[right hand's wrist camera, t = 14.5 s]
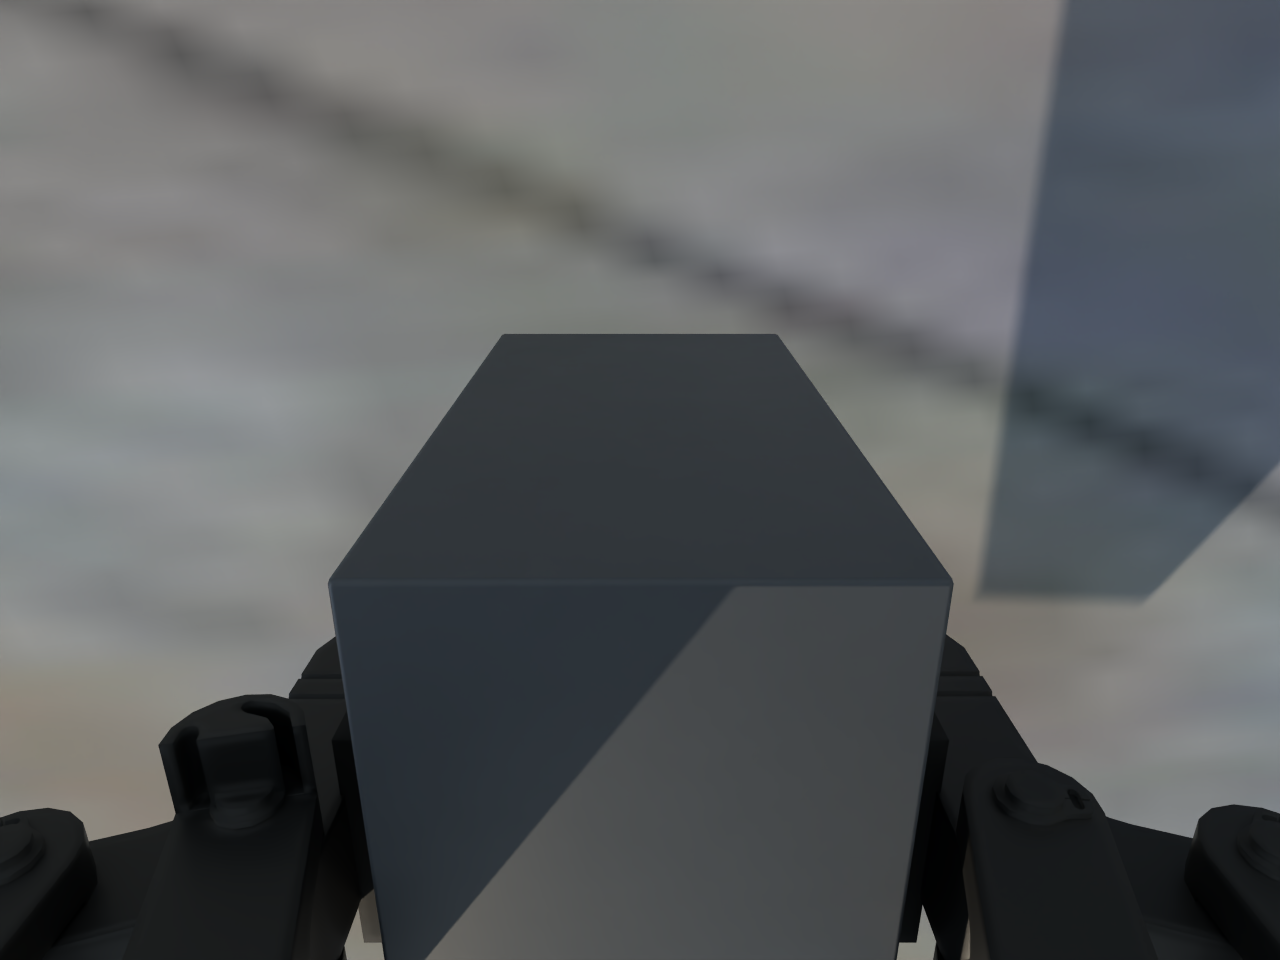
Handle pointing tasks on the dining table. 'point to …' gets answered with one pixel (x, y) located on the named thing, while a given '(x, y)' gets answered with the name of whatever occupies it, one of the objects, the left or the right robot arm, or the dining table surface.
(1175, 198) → the dining table surface
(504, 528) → the bar
